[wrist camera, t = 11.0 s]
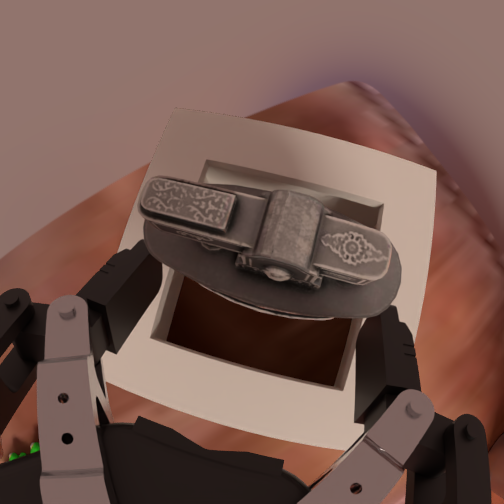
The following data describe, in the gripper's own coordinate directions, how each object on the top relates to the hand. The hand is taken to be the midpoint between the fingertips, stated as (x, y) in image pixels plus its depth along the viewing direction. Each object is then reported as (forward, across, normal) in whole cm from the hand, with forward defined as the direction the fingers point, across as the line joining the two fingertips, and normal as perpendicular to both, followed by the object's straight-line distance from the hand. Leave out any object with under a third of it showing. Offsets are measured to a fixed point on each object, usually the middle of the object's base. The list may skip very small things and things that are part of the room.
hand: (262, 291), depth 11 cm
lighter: (+5, 0, +3) cm, 6 cm away
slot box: (+14, 0, +11) cm, 18 cm away
